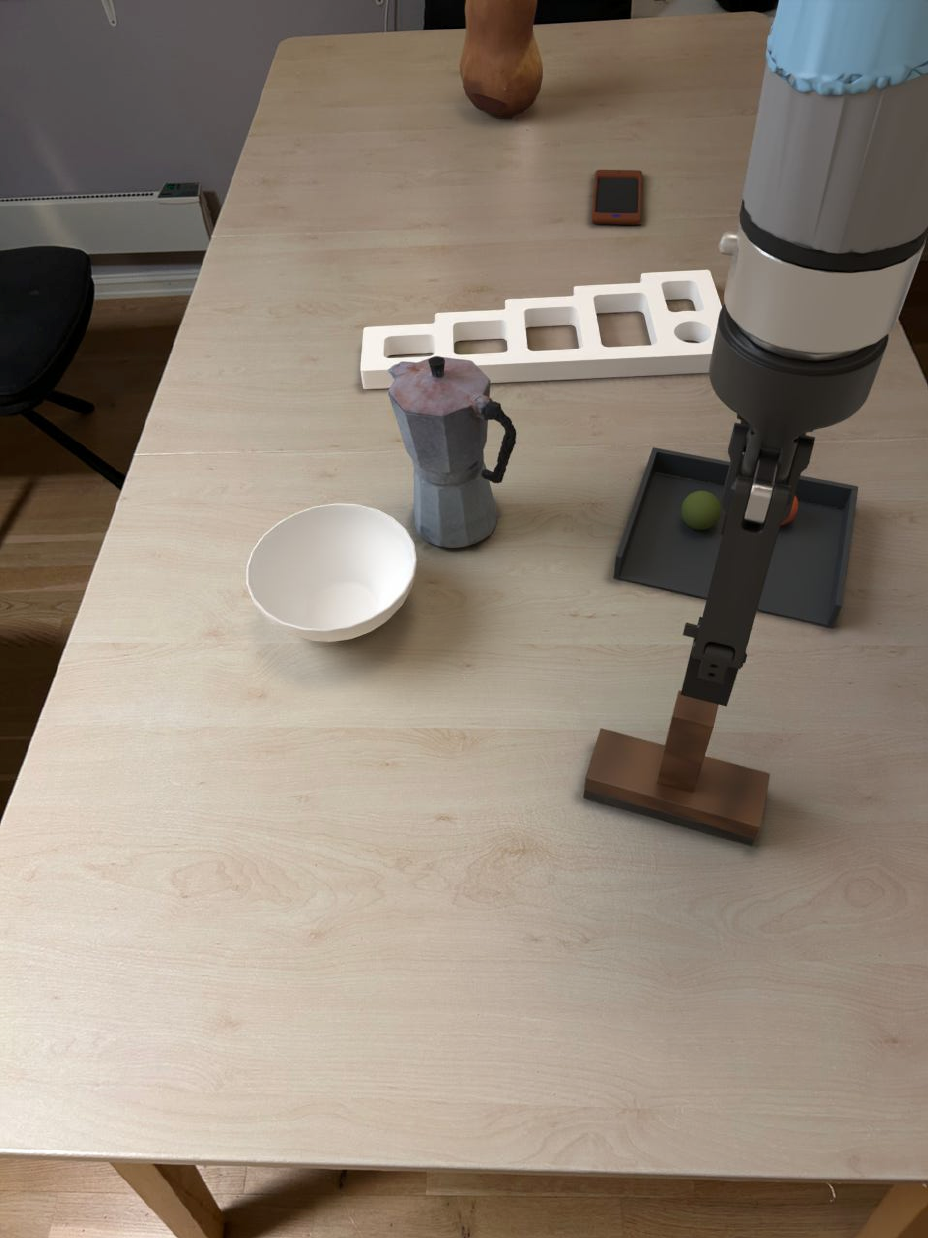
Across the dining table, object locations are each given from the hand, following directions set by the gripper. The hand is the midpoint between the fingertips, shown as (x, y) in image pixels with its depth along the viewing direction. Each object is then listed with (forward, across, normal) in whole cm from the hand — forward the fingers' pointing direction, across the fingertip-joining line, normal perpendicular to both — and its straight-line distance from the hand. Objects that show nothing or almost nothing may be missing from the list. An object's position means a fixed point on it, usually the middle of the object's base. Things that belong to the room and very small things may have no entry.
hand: (724, 610), depth 59 cm
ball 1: (+22, -32, -4) cm, 39 cm away
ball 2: (+22, -34, +3) cm, 41 cm away
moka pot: (+25, -25, -28) cm, 45 cm away
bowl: (+25, -10, -35) cm, 44 cm away
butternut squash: (+25, -119, -54) cm, 133 cm away
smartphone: (+25, -95, -28) cm, 102 cm away
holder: (+25, -59, -29) cm, 70 cm away
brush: (+25, 0, 0) cm, 25 cm away
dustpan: (+25, -35, 0) cm, 43 cm away
